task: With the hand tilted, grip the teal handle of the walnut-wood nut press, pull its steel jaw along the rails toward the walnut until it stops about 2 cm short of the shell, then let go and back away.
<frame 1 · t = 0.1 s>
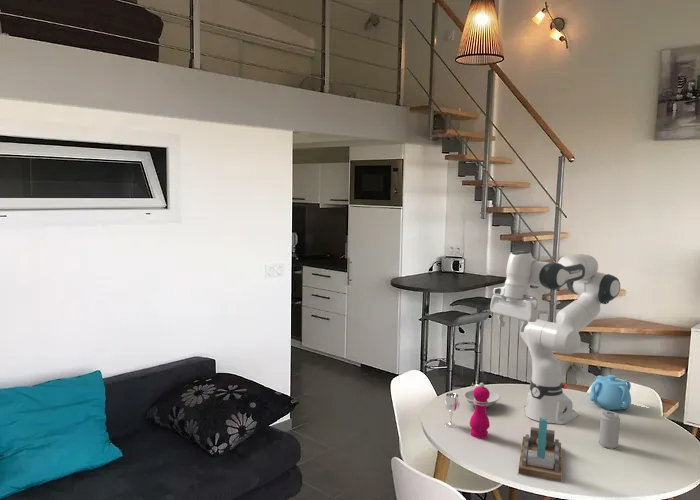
hand: (510, 329, 221), 39 cm above the table, tool pointing down, fingers open, 8 cm apart
dish: (481, 407, 246), on the table
press jaw: (541, 441, 190), point 10 cm above the table, slide at 0.0 cm
pepper mill: (478, 435, 217), on the table
press bench: (540, 460, 198), on the table
beverage can: (608, 446, 212), on the table
decorative pot: (609, 406, 252), on the table
wineglass: (450, 425, 226), on the table
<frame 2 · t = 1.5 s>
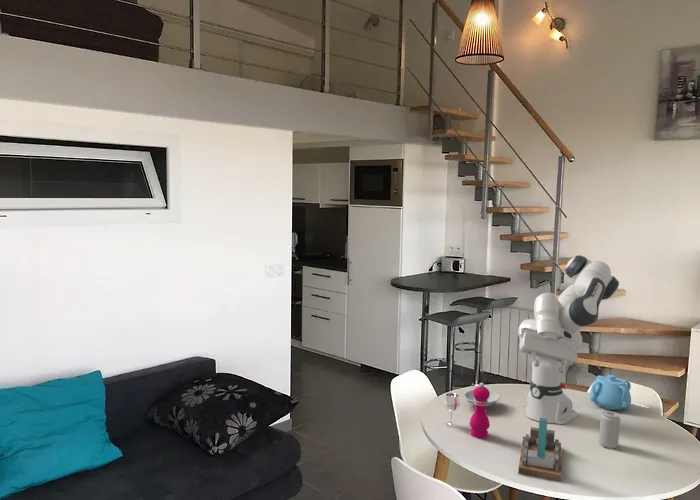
hand: (548, 369, 200), 30 cm above the table, tool tilted 40°, fingers open, 8 cm apart
nothing on the table moved.
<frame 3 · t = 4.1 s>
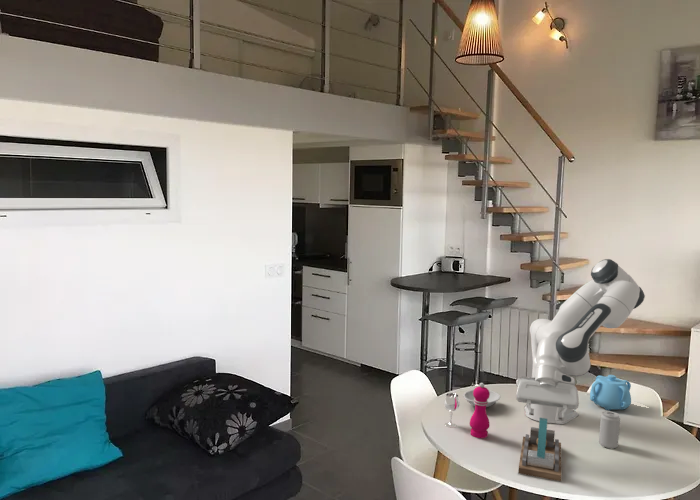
hand: (546, 416, 196), 16 cm above the table, tool tilted 45°, fingers open, 8 cm apart
nothing on the table moved.
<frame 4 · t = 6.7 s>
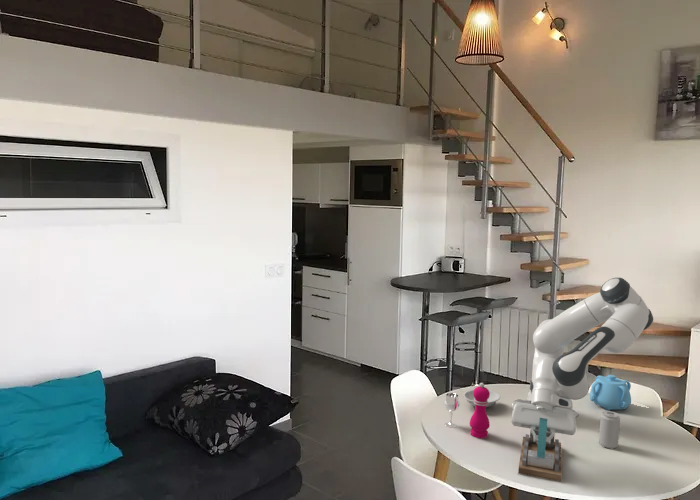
hand: (541, 442, 189), 10 cm above the table, tool tilted 45°, fingers closed on press jaw, 2 cm apart
press jaw: (541, 441, 190), point 10 cm above the table, slide at 0.0 cm, touching gripper
everything else where it was.
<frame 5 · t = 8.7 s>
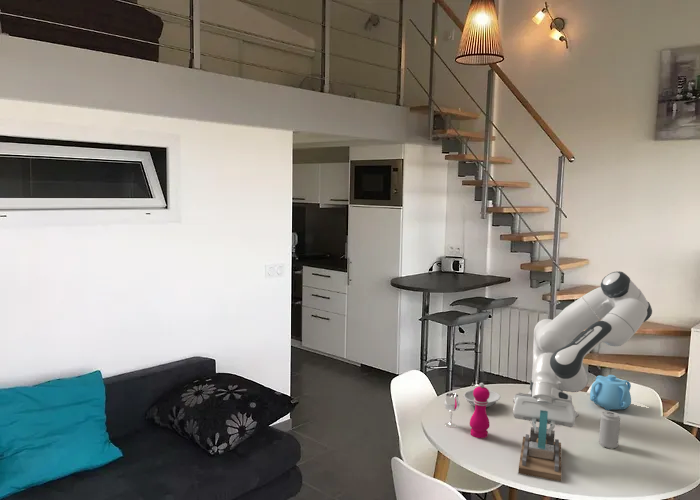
hand: (542, 433, 196), 10 cm above the table, tool tilted 45°, fingers closed on press jaw, 2 cm apart
press jaw: (542, 433, 197), point 10 cm above the table, slide at 7.1 cm, touching gripper
everything else where it was.
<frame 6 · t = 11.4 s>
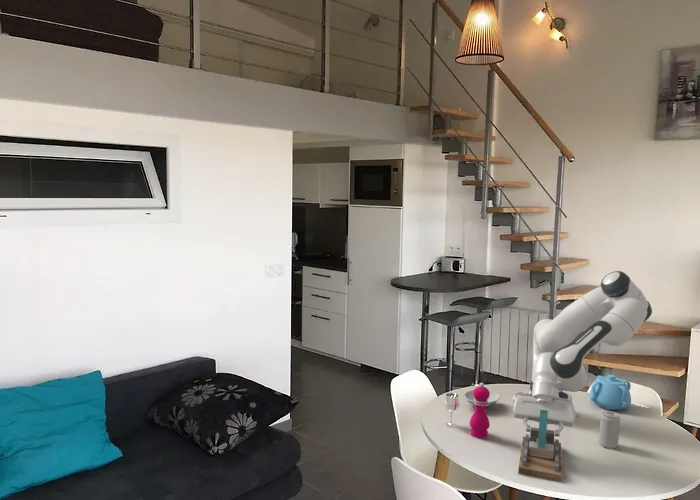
hand: (542, 433, 196), 10 cm above the table, tool tilted 45°, fingers open, 8 cm apart
press jaw: (542, 433, 197), point 10 cm above the table, slide at 7.5 cm
everything else where it was.
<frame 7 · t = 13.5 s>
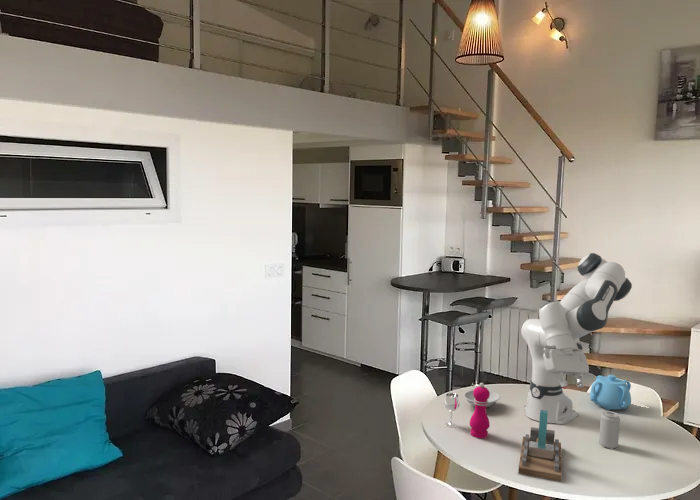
hand: (573, 386, 195), 26 cm above the table, tool tilted 35°, fingers open, 8 cm apart
nothing on the table moved.
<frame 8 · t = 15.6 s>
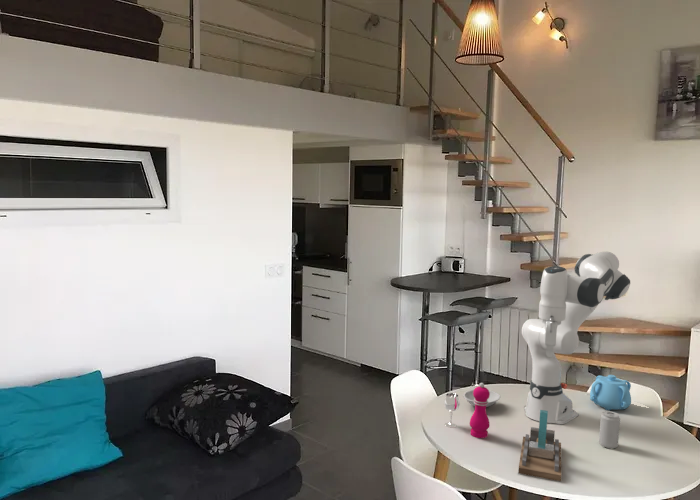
hand: (549, 352, 203), 35 cm above the table, tool pointing down, fingers open, 8 cm apart
nothing on the table moved.
at the end: press jaw slide at 7.5 cm; the gripper is holding nothing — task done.
